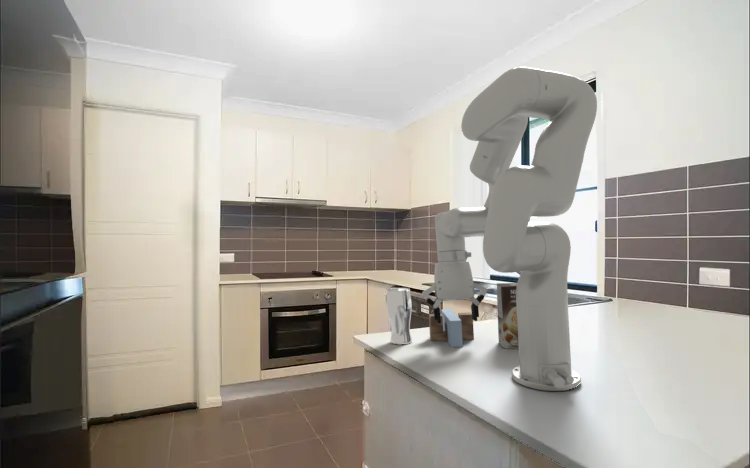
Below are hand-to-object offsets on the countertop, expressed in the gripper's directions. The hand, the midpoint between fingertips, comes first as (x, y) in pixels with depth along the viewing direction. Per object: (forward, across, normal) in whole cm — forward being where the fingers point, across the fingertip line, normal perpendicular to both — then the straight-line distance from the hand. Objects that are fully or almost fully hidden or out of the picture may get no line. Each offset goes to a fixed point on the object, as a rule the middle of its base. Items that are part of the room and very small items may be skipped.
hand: (456, 321), depth 104 cm
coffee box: (+7, -15, +2) cm, 17 cm away
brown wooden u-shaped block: (+6, +1, -7) cm, 10 cm away
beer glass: (+6, +15, -6) cm, 17 cm away
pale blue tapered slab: (+6, +1, -7) cm, 9 cm away
